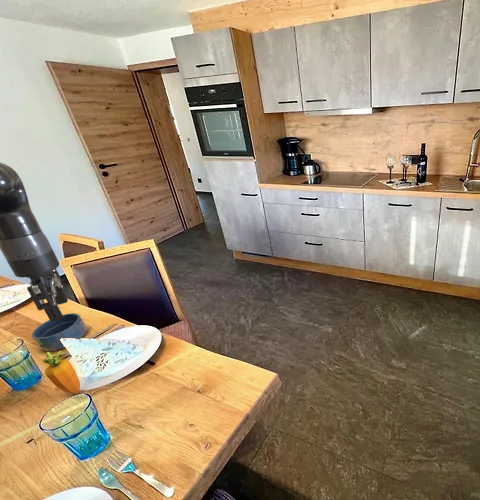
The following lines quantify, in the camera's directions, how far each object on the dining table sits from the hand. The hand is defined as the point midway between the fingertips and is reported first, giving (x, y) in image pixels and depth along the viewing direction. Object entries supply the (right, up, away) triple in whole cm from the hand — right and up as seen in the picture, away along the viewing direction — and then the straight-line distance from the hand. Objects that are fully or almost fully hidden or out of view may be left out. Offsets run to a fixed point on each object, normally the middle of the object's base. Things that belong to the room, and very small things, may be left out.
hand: (60, 310), depth 73 cm
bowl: (-24, -15, +26) cm, 38 cm away
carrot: (-2, -24, +7) cm, 25 cm away
